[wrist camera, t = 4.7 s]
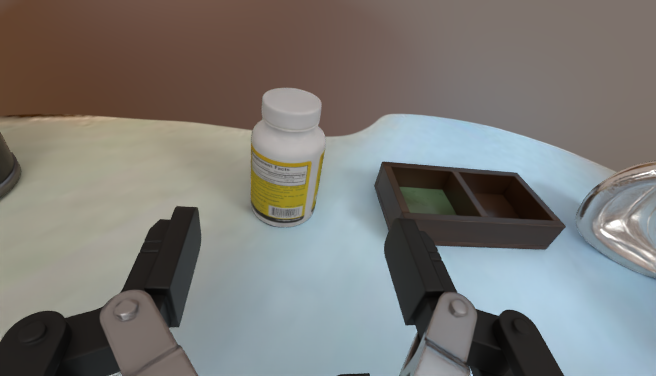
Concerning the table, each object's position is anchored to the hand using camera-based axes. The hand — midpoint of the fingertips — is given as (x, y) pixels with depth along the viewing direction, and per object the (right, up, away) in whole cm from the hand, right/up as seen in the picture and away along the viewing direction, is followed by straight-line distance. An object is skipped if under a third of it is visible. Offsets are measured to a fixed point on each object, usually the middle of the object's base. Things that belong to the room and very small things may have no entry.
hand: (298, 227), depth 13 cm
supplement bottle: (-3, 0, +14) cm, 15 cm away
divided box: (+13, -1, +17) cm, 22 cm away
